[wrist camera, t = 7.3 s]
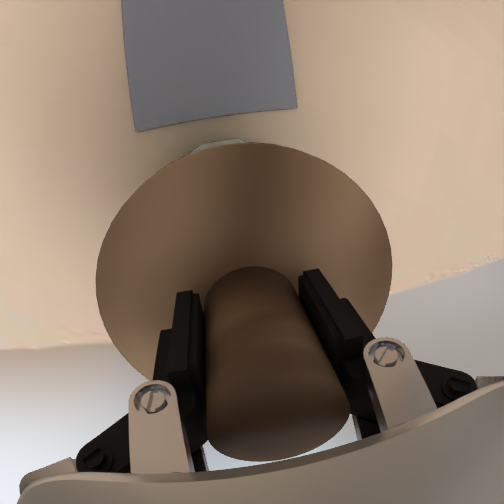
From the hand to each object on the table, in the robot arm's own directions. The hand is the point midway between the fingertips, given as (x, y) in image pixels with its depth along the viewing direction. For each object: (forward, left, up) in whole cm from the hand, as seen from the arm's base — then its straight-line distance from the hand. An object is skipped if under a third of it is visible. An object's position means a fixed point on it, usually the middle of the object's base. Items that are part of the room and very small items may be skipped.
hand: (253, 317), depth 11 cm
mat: (0, -13, -14) cm, 19 cm away
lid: (0, 0, -2) cm, 2 cm away
